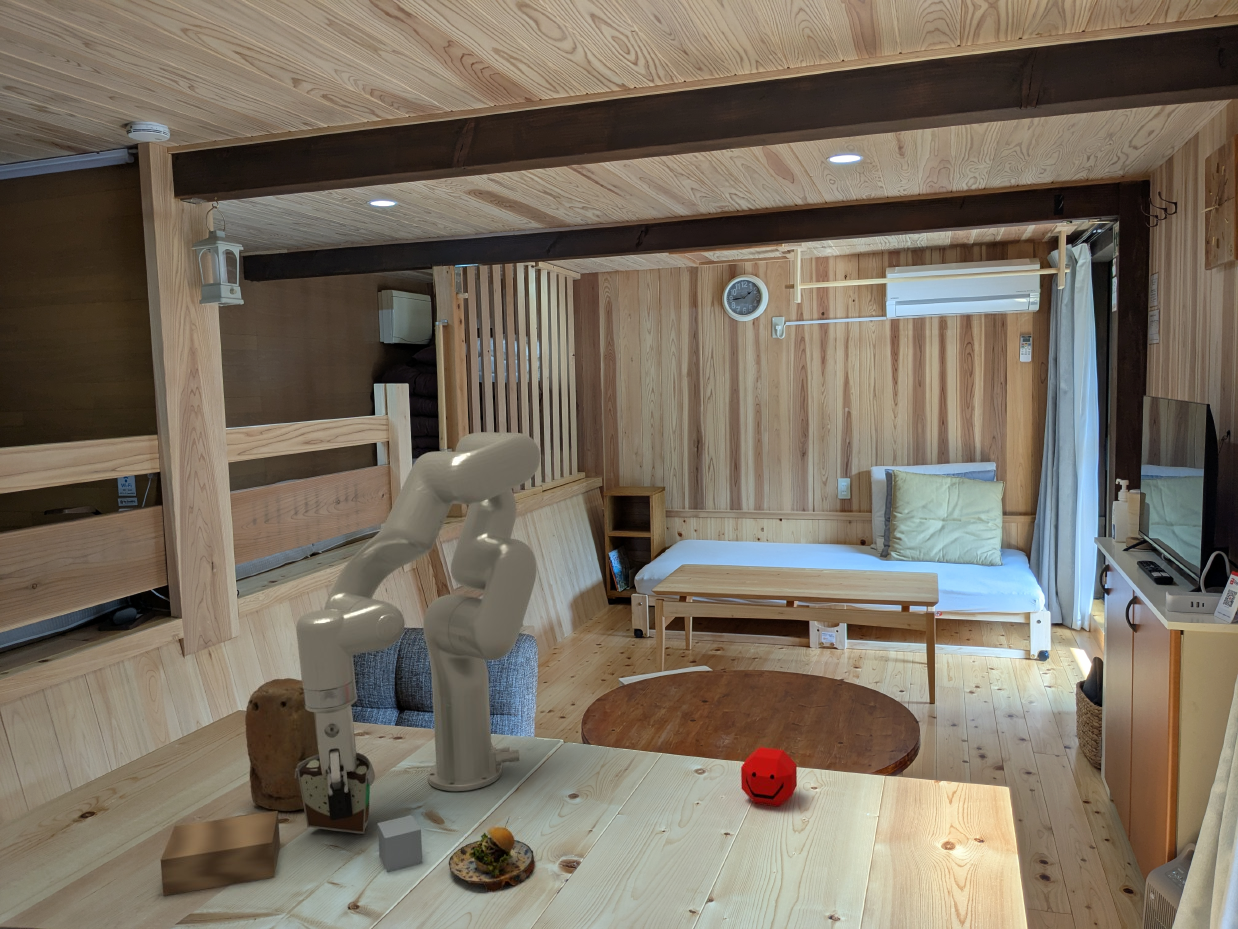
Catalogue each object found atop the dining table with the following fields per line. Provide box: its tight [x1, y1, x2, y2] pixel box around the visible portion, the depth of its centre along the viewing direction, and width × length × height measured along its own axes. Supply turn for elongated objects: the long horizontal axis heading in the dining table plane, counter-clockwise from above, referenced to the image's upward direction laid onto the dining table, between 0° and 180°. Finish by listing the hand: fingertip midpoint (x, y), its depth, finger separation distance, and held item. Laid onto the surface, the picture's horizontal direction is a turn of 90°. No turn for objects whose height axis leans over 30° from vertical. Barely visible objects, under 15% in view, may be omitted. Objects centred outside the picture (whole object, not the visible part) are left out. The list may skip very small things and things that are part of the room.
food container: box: [295, 751, 376, 835], centre depth 139 cm, size 12×6×10 cm, turn 79°
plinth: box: [160, 810, 281, 897], centre depth 128 cm, size 14×10×5 cm
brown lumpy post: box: [244, 677, 319, 812], centre depth 148 cm, size 11×8×20 cm
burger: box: [448, 817, 535, 893], centre depth 126 cm, size 12×12×8 cm
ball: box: [740, 747, 798, 807], centre depth 144 cm, size 8×8×8 cm
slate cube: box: [377, 814, 424, 873], centre depth 129 cm, size 5×5×5 cm
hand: (341, 805), depth 138 cm, fingers closed on food container, 6 cm apart
